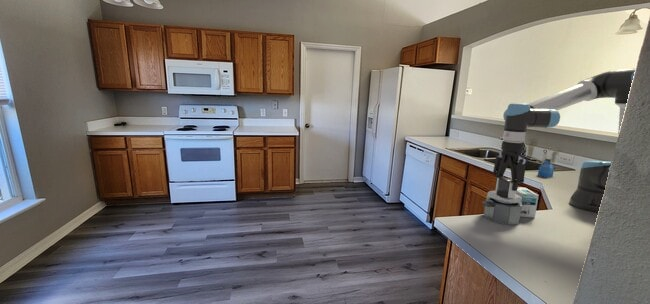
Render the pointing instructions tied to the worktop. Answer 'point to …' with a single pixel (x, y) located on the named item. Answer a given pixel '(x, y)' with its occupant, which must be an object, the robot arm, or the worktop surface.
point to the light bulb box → (528, 202)
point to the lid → (504, 193)
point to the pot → (502, 212)
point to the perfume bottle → (546, 169)
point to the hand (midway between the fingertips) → (504, 194)
